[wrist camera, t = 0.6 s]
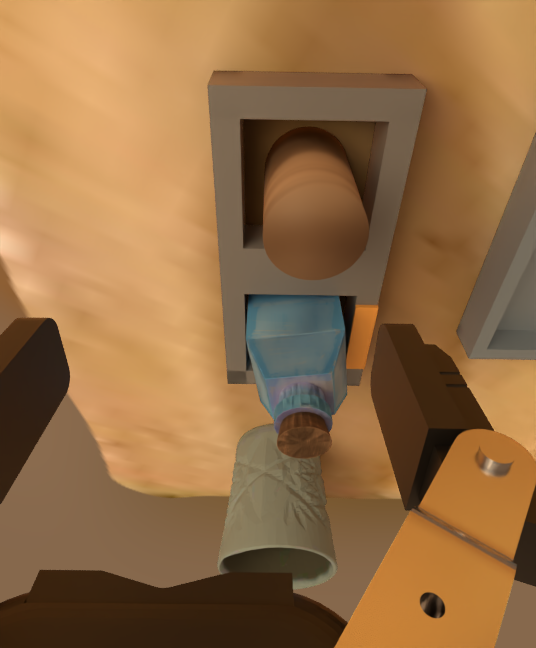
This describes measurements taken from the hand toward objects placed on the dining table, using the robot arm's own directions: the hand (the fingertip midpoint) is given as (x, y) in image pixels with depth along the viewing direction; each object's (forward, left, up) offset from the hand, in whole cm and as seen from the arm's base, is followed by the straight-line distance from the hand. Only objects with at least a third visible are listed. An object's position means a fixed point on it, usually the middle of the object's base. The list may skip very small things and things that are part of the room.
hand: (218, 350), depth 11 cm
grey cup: (+33, +3, -19) cm, 38 cm away
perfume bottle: (+14, +4, -19) cm, 23 cm away
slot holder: (+8, +4, -18) cm, 20 cm away
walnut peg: (+3, +4, -19) cm, 19 cm away
